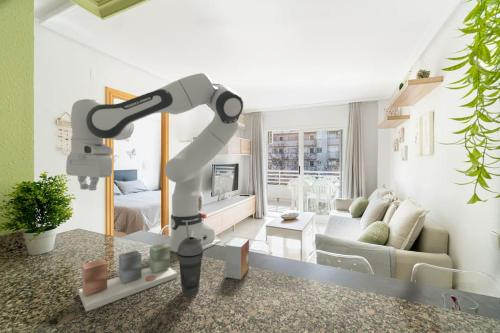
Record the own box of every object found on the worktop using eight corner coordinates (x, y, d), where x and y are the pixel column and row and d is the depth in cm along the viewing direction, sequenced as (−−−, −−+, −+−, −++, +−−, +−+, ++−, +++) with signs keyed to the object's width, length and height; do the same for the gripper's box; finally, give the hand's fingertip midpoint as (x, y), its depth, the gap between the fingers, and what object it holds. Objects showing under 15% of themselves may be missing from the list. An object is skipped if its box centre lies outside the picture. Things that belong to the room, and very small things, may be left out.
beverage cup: (196, 301, 61) (197, 226, 61) (171, 297, 63) (171, 225, 62) (207, 286, 69) (207, 219, 68) (184, 283, 70) (184, 218, 69)
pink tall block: (103, 282, 66) (103, 258, 66) (107, 288, 63) (107, 263, 63) (82, 289, 63) (82, 264, 63) (85, 296, 60) (84, 269, 60)
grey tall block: (136, 272, 73) (136, 250, 72) (141, 277, 70) (141, 254, 69) (119, 277, 69) (119, 254, 69) (123, 283, 66) (123, 259, 66)
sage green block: (164, 263, 79) (164, 243, 79) (169, 267, 76) (169, 246, 76) (149, 268, 75) (149, 247, 75) (154, 272, 72) (154, 250, 72)
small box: (241, 280, 72) (241, 247, 72) (224, 277, 74) (224, 244, 74) (249, 269, 80) (249, 238, 79) (234, 266, 82) (234, 237, 81)
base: (163, 266, 81) (163, 261, 81) (177, 277, 74) (177, 271, 73) (79, 294, 64) (79, 288, 64) (86, 311, 57) (85, 304, 57)
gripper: (59, 148, 79) (60, 188, 80) (96, 148, 70) (96, 193, 71) (80, 149, 85) (80, 186, 85) (116, 149, 76) (116, 190, 76)
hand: (88, 189), depth 78 cm, fingers open, 3 cm apart
